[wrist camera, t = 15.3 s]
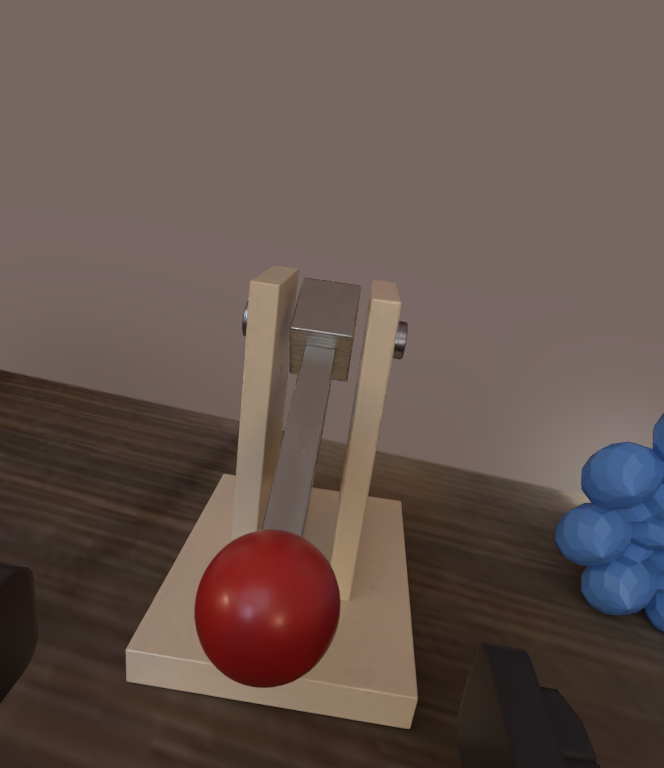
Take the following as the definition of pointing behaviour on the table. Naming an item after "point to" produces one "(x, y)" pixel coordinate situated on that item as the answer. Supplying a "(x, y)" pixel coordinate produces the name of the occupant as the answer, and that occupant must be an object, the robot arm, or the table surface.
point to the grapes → (621, 529)
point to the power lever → (284, 523)
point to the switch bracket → (323, 529)
